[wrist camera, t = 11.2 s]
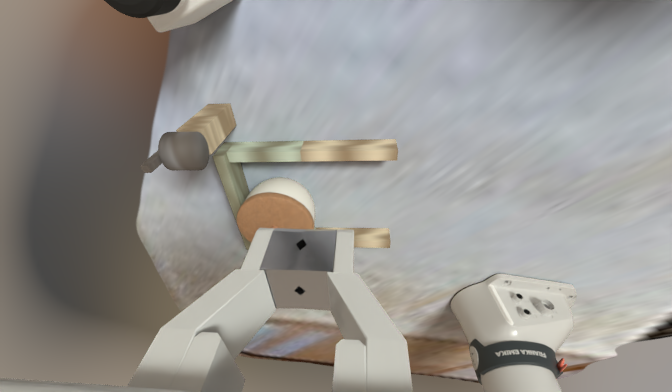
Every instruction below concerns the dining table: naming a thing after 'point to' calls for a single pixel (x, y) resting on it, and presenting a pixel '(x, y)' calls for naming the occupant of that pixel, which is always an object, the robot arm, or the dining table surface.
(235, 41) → the dining table surface
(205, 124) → the winch post
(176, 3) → the medicine bottle
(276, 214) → the lidded jar
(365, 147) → the bay
